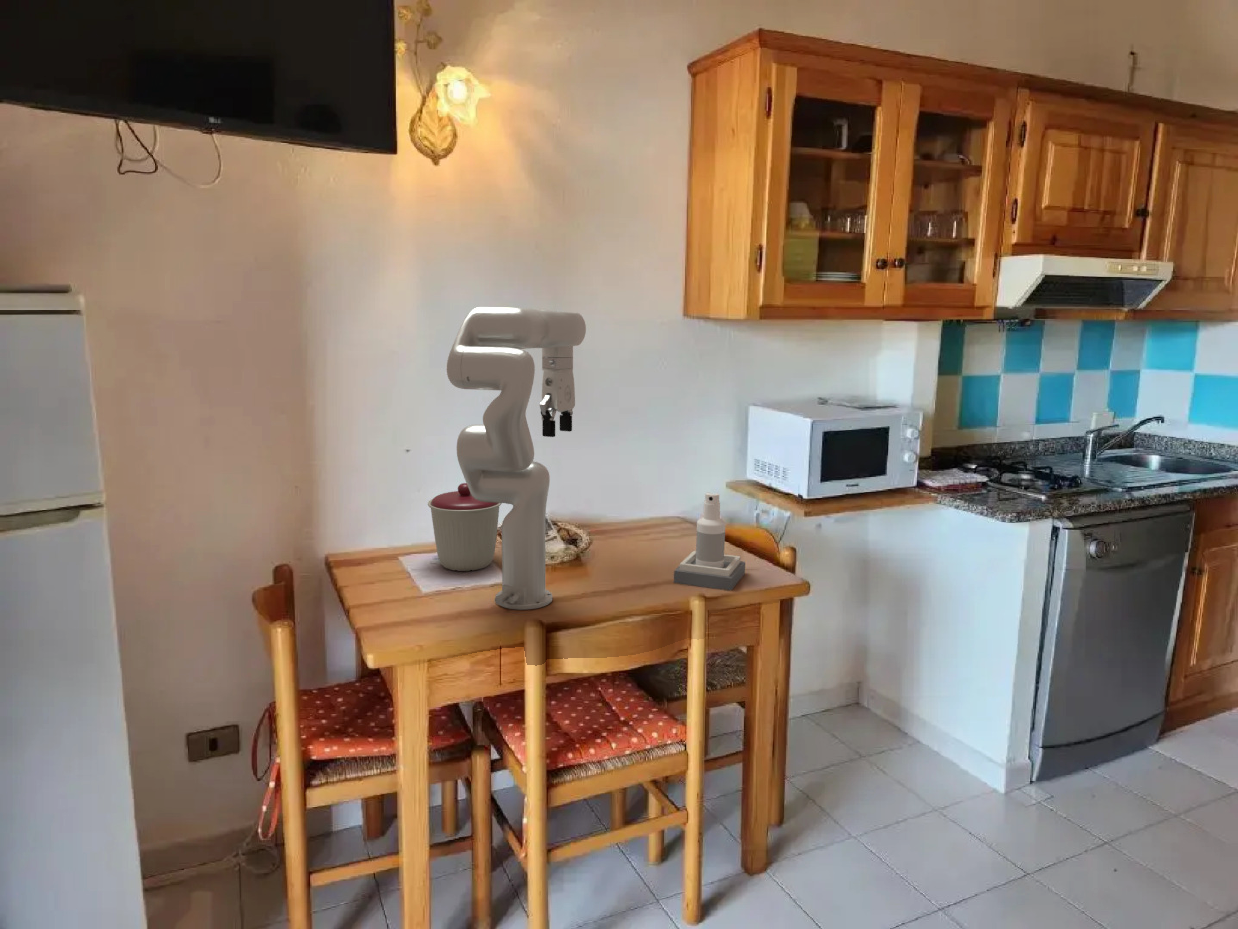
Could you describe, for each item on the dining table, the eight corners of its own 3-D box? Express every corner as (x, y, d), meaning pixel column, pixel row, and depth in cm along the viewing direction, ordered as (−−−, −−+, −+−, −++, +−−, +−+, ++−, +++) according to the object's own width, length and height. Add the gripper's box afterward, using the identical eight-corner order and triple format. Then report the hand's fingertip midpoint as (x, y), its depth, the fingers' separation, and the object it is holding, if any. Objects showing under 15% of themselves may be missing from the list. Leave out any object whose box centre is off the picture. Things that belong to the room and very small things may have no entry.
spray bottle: (692, 568, 204) (695, 495, 200) (698, 560, 210) (701, 489, 207) (721, 571, 202) (723, 498, 198) (726, 563, 208) (728, 491, 205)
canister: (416, 563, 214) (413, 482, 210) (477, 550, 226) (476, 473, 222) (453, 581, 201) (451, 495, 197) (516, 567, 213) (516, 484, 209)
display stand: (731, 590, 198) (732, 572, 197) (673, 582, 202) (674, 564, 202) (744, 573, 210) (745, 555, 210) (690, 566, 215) (690, 549, 214)
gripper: (556, 367, 198) (556, 439, 201) (585, 362, 214) (585, 430, 217) (527, 365, 200) (527, 437, 204) (558, 361, 216) (558, 428, 219)
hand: (557, 433), depth 210 cm, fingers open, 9 cm apart
